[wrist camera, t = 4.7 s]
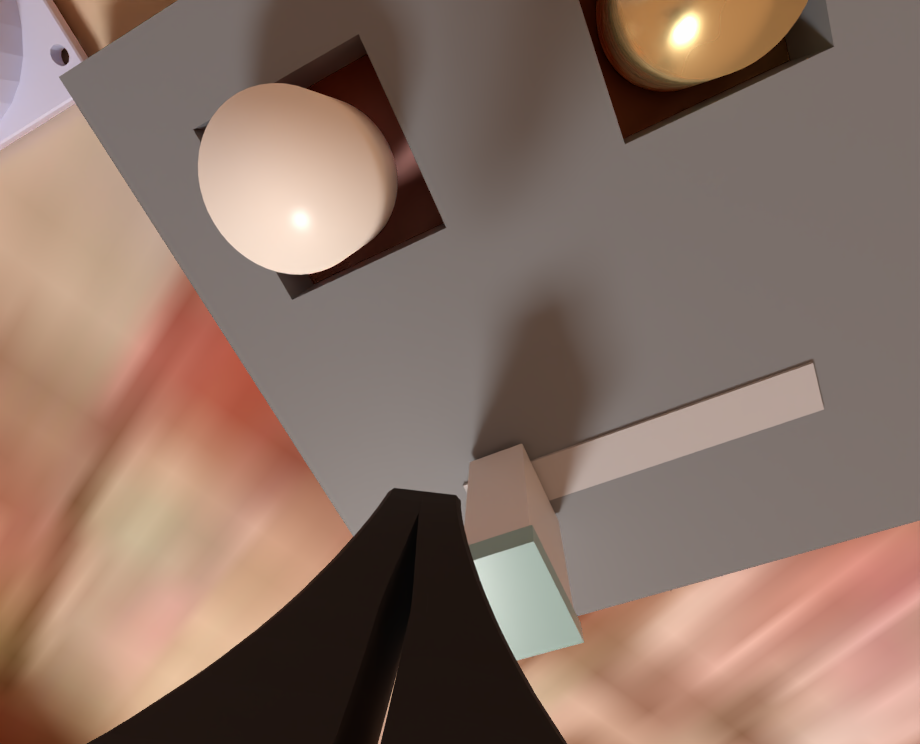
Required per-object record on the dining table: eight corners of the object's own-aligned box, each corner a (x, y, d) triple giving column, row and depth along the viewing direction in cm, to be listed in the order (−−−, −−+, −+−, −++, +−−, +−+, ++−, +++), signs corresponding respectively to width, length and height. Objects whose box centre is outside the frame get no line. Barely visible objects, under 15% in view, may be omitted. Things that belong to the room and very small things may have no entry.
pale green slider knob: (465, 461, 17) (455, 566, 13) (523, 439, 17) (533, 541, 12) (506, 540, 18) (510, 662, 14) (562, 522, 18) (583, 642, 13)
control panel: (110, 86, 15) (55, 76, 14) (836, -366, 11) (906, -473, 9) (436, 615, 23) (430, 659, 21) (955, 461, 18) (1010, 497, 16)
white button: (223, 139, 14) (161, 136, 12) (352, 66, 13) (318, 46, 11) (299, 275, 15) (260, 300, 13) (422, 217, 15) (407, 231, 12)
